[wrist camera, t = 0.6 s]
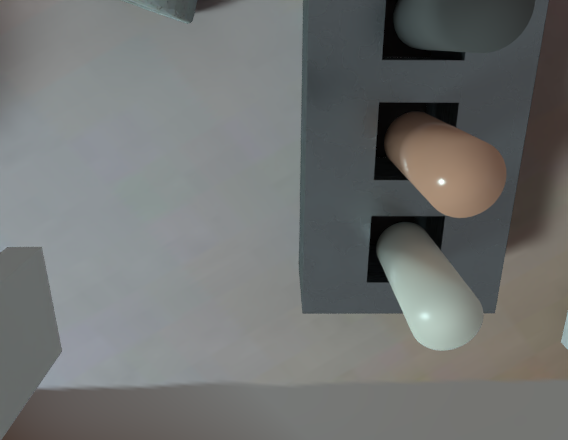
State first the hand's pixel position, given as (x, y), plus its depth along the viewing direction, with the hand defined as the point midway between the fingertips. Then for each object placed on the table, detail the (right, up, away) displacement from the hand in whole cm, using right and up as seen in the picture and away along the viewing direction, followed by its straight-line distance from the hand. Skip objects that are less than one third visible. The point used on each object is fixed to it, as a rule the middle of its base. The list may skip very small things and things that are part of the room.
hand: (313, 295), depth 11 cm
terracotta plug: (+8, +7, +20) cm, 23 cm away
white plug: (+8, 0, +23) cm, 24 cm away
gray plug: (+8, +14, +18) cm, 24 cm away
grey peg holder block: (+8, +9, +27) cm, 29 cm away
